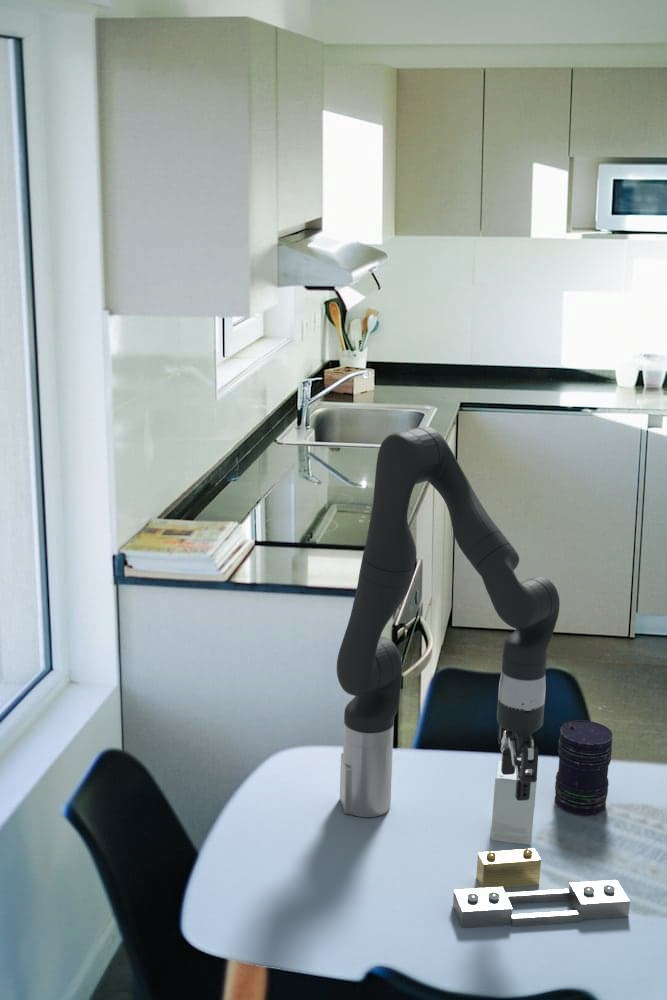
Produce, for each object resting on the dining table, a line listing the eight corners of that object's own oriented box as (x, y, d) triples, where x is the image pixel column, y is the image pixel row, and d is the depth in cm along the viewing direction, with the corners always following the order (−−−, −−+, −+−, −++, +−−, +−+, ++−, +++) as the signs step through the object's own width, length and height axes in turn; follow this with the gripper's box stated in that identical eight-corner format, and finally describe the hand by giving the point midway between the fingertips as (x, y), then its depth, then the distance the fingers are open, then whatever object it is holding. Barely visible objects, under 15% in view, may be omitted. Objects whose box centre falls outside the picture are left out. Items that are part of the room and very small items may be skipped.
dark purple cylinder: (614, 799, 240) (621, 729, 235) (595, 822, 232) (602, 749, 227) (565, 784, 245) (571, 715, 240) (545, 806, 237) (551, 734, 232)
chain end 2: (546, 924, 201) (548, 904, 200) (534, 898, 208) (535, 879, 207) (629, 918, 203) (631, 899, 202) (614, 893, 210) (616, 875, 209)
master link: (482, 890, 210) (484, 861, 208) (476, 878, 213) (478, 849, 212) (538, 885, 212) (541, 856, 210) (532, 873, 215) (534, 845, 213)
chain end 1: (462, 929, 199) (463, 910, 198) (452, 903, 206) (453, 884, 205) (546, 924, 201) (548, 904, 200) (534, 898, 208) (535, 879, 207)
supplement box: (531, 846, 223) (536, 782, 220) (489, 840, 225) (494, 777, 221) (533, 824, 230) (538, 763, 227) (493, 819, 231) (497, 758, 228)
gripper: (487, 679, 209) (482, 766, 214) (511, 717, 196) (504, 809, 200) (531, 678, 210) (524, 764, 215) (557, 715, 197) (549, 807, 201)
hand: (514, 786), depth 207 cm, fingers open, 8 cm apart
